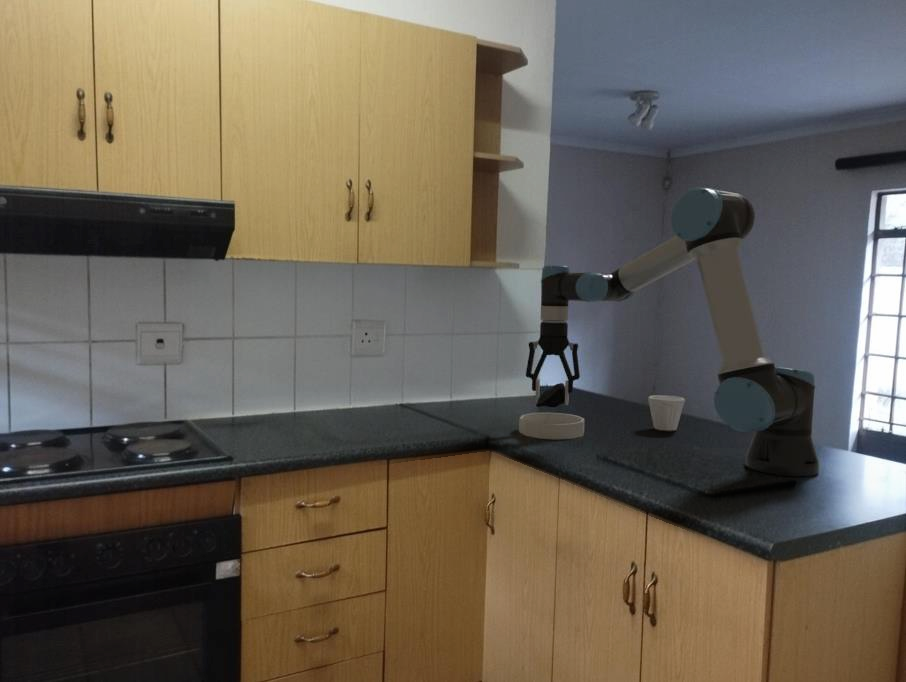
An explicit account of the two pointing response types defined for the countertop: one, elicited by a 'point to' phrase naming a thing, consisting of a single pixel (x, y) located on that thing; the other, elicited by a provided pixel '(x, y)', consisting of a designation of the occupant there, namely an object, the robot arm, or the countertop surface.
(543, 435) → the bowl
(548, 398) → the rock
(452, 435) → the countertop surface
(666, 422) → the cup
